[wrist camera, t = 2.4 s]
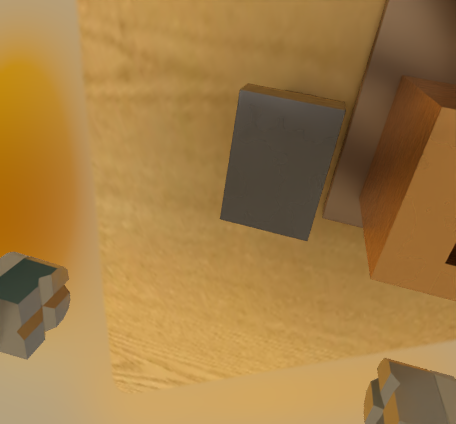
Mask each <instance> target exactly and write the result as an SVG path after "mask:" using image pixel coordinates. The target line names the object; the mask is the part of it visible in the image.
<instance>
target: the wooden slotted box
mask: <svg viewBox="0 0 456 424" xmlns="http://www.w3.org/2000/svg"><path fill="white" fill-rule="evenodd" d="M359 202H360V209H361V216H362V223H363V230H364V237H365V244H366V251H367V258H368V264H369V271H370V278H371V279H373V280H377V281H380V282H384V283H388V284H392V285H396V286H400V287H404V288H407V289H411V290H415V291H419V292H423V293H427V294H430V295H434V296H438V297H442V298H446V299H450V300H453V301H456V85H454V84H449V83H443V82H438V81H432V80H427V79H421V78H416V77H410V76H405V75H402V77H401V80H400V83H399V85H398V88H397V91H396V94H395V97H394V100H393V103H392V105H391V108H390V111H389V114H388V117H387V120H386V123H385V125H384V128H383V131H382V134H381V137H380V140H379V143H378V145H377V148H376V151H375V154H374V157H373V160H372V162H371V165H370V168H369V171H368V174H367V177H366V180H365V182H364V185H363V188H362V191H361V194H360V197H359Z"/></svg>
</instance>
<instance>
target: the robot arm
mask: <svg viewBox="0 0 456 424" xmlns="http://www.w3.org/2000/svg"><path fill="white" fill-rule="evenodd" d="M68 280H69V277H68V270H67V269H66V268H64V267H63V266H59V265H56V264H53V263H50V262H47V261H43V260H40V259H37V258H34V257H29V256H25V255H23V254H20V253H16V252H10V253H7V254H5V255H4V256H3V257H1V258H0V352H3V353H6V354H10V355H13V356H17V357H20V358H24V359H28V358H29V357H30V356H31V355H32V354H33V352H34V351H35V350H36V349H37V348H38V347H39V346H40V345H41V344H42V343H43V341H44V340H45V332H46V331H48V330H50V329H53V328H55V327H57V326H58V325H59V323H60V322H61V321H62V320H63V318H64V316H65V315H66V312H67V310H68V308H69V303H70V292H69V291H68V289H67V288H66V287H65V285H64V284H65V283H66V282H67V281H68ZM377 371H378V378H377V379H375V380H373V381H371V382H370V385H369V387H368V389H367V392H366V397H365V401H364V420H365V421H364V422H365V424H456V379H455V378H454V377H453V376H450V375H446V374H442V373H439V372H434V371H431V370H430V371H429V370H427V369H423V368H420V367H416V366H412V365H409V364H405V363H401V362H398V361H394V360H391V359H387V358H384V359H383V360H382V361H381V363H380V364H379V366H378V368H377Z"/></svg>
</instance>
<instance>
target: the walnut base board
mask: <svg viewBox="0 0 456 424" xmlns="http://www.w3.org/2000/svg"><path fill="white" fill-rule="evenodd" d="M402 75H405V76H410V77H416V78H421V79H427V80H432V81H438V82H443V83H449V84H454V85H456V0H387V1H386V4H385V7H384V10H383V14H382V17H381V20H380V24H379V27H378V30H377V34H376V37H375V40H374V43H373V47H372V50H371V53H370V57H369V60H368V63H367V67H366V70H365V73H364V76H363V80H362V83H361V86H360V90H359V93H358V96H357V99H356V103H355V106H354V109H353V113H352V116H351V119H350V123H349V126H348V129H347V132H346V136H345V139H344V142H343V146H342V149H341V152H340V155H339V159H338V162H337V165H336V169H335V172H334V175H333V179H332V182H331V185H330V188H329V192H328V195H327V198H326V202H325V205H324V208H323V218H324V219H328V220H333V221H337V222H341V223H345V224H349V225H353V226H357V227H361V228H363V223H362V216H361V209H360V202H359V197H360V194H361V191H362V188H363V185H364V182H365V180H366V177H367V174H368V171H369V168H370V165H371V162H372V160H373V157H374V154H375V151H376V148H377V145H378V143H379V140H380V137H381V134H382V131H383V128H384V125H385V123H386V120H387V117H388V114H389V111H390V108H391V105H392V103H393V100H394V97H395V94H396V91H397V88H398V85H399V83H400V80H401V77H402Z"/></svg>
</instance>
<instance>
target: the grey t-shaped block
mask: <svg viewBox="0 0 456 424" xmlns="http://www.w3.org/2000/svg"><path fill="white" fill-rule="evenodd" d="M345 111H346V109H345V102H341V101H336V100H331V99H325V98H320V97H317V96H313V95H308V94H303V93H298V92H293V91H288V90H285V91H284V90H279V89H274V88H269V87H264V86H259V85H254V84H249V83H248V84H247V85H245V86H244V87H243V88H241V89H240V93H239V99H238V106H237V112H236V119H235V125H234V132H233V138H232V145H231V151H230V158H229V164H228V171H227V177H226V184H225V190H224V197H223V203H222V210H221V216H220V219H221V220H225V221H229V222H233V223H237V224H241V225H245V226H249V227H253V228H257V229H261V230H265V231H269V232H273V233H277V234H281V235H285V236H289V237H293V238H297V239H301V240H305V241H308V237H309V234H310V230H311V227H312V224H313V220H314V217H315V213H316V210H317V207H318V203H319V200H320V196H321V193H322V190H323V186H324V183H325V179H326V176H327V173H328V169H329V166H330V162H331V159H332V156H333V152H334V149H335V145H336V142H337V139H338V135H339V132H340V128H341V125H342V122H343V118H344V115H345Z"/></svg>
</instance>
